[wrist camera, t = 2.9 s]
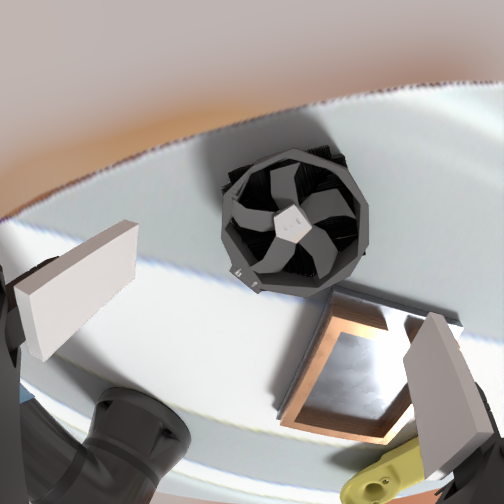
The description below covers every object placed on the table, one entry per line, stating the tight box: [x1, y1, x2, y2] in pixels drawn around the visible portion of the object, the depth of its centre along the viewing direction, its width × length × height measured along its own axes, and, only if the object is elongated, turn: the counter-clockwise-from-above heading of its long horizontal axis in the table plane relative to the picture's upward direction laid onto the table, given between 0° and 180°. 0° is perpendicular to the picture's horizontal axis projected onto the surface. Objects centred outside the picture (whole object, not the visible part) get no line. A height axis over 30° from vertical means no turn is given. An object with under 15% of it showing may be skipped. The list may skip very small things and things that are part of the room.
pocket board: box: [276, 285, 464, 445], centre depth 29 cm, size 14×18×3 cm
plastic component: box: [340, 436, 425, 504], centre depth 33 cm, size 20×7×10 cm
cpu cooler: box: [221, 145, 369, 298], centre depth 23 cm, size 10×6×10 cm
